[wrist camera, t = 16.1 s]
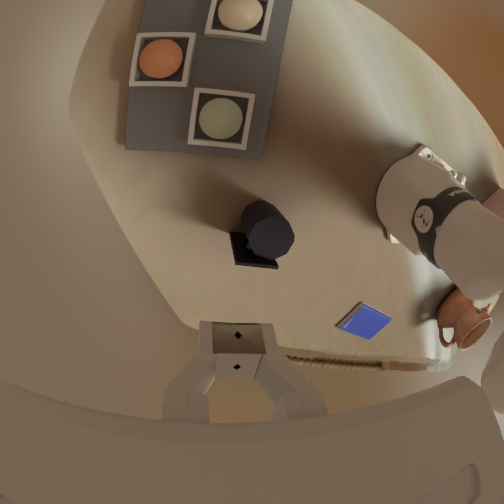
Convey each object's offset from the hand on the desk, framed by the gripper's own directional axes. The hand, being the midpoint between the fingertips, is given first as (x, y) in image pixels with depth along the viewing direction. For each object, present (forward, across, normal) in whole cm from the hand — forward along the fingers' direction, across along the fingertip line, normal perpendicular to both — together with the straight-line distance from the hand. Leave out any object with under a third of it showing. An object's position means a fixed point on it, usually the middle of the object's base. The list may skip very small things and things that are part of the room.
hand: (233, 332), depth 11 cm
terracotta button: (+27, +9, -13) cm, 31 cm away
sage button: (+27, +1, -6) cm, 27 cm away
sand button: (+27, +1, -20) cm, 33 cm away
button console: (+29, +4, -13) cm, 32 cm away
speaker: (+29, -6, +8) cm, 31 cm away
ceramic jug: (+29, -66, +26) cm, 77 cm away
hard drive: (+30, -36, +31) cm, 56 cm away
